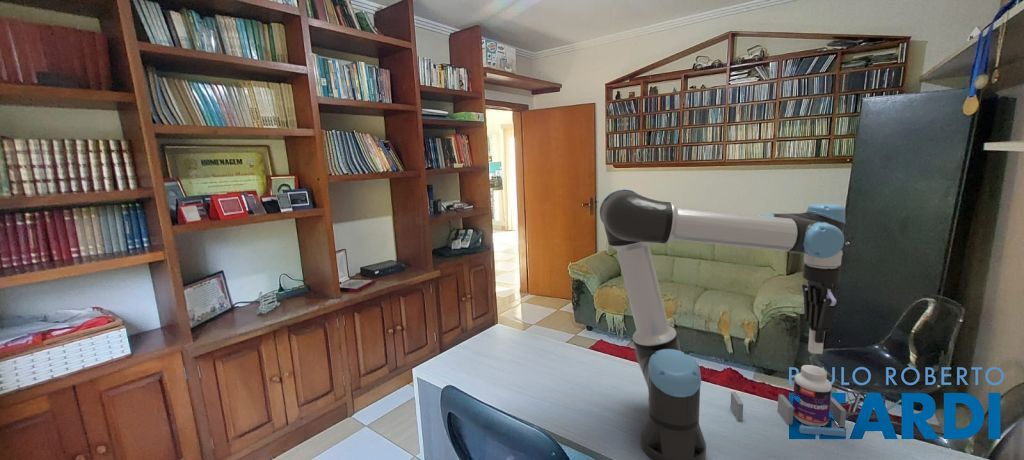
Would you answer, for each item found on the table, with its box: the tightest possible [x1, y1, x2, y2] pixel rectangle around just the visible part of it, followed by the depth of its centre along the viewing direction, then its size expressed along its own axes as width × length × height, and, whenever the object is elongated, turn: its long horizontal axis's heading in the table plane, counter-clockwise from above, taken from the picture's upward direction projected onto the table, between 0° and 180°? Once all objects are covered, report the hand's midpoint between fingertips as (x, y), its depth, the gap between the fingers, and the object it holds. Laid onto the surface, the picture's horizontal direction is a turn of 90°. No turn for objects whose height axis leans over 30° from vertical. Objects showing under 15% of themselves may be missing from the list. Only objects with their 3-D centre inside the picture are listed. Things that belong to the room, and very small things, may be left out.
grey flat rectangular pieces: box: [730, 391, 847, 437], centre depth 109 cm, size 10×26×5 cm, turn 79°
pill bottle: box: [792, 364, 833, 427], centre depth 109 cm, size 8×8×14 cm
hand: (815, 352), depth 107 cm, fingers closed
